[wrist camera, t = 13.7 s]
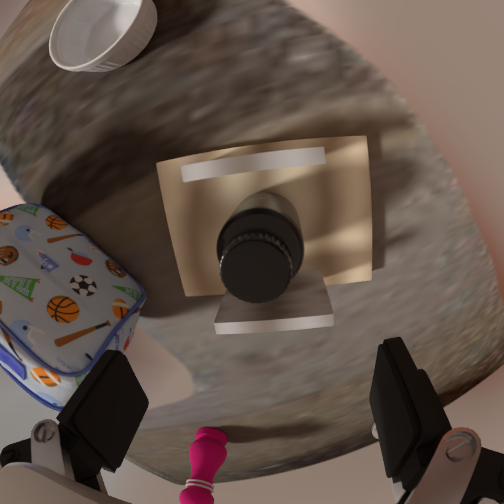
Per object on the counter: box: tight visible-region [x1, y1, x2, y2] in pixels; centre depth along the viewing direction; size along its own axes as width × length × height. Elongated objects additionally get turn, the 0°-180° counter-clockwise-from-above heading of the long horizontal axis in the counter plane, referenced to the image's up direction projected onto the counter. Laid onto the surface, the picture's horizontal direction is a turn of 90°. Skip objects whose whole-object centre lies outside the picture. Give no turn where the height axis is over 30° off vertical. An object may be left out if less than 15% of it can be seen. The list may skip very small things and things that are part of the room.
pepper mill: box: [179, 427, 227, 504], centre depth 38 cm, size 7×7×20 cm
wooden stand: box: [156, 136, 372, 334], centre depth 26 cm, size 22×16×11 cm
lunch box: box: [0, 203, 146, 412], centre depth 25 cm, size 28×10×22 cm, turn 60°
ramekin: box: [49, 0, 157, 72], centre depth 21 cm, size 13×13×7 cm
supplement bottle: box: [216, 192, 304, 304], centre depth 23 cm, size 7×7×12 cm
